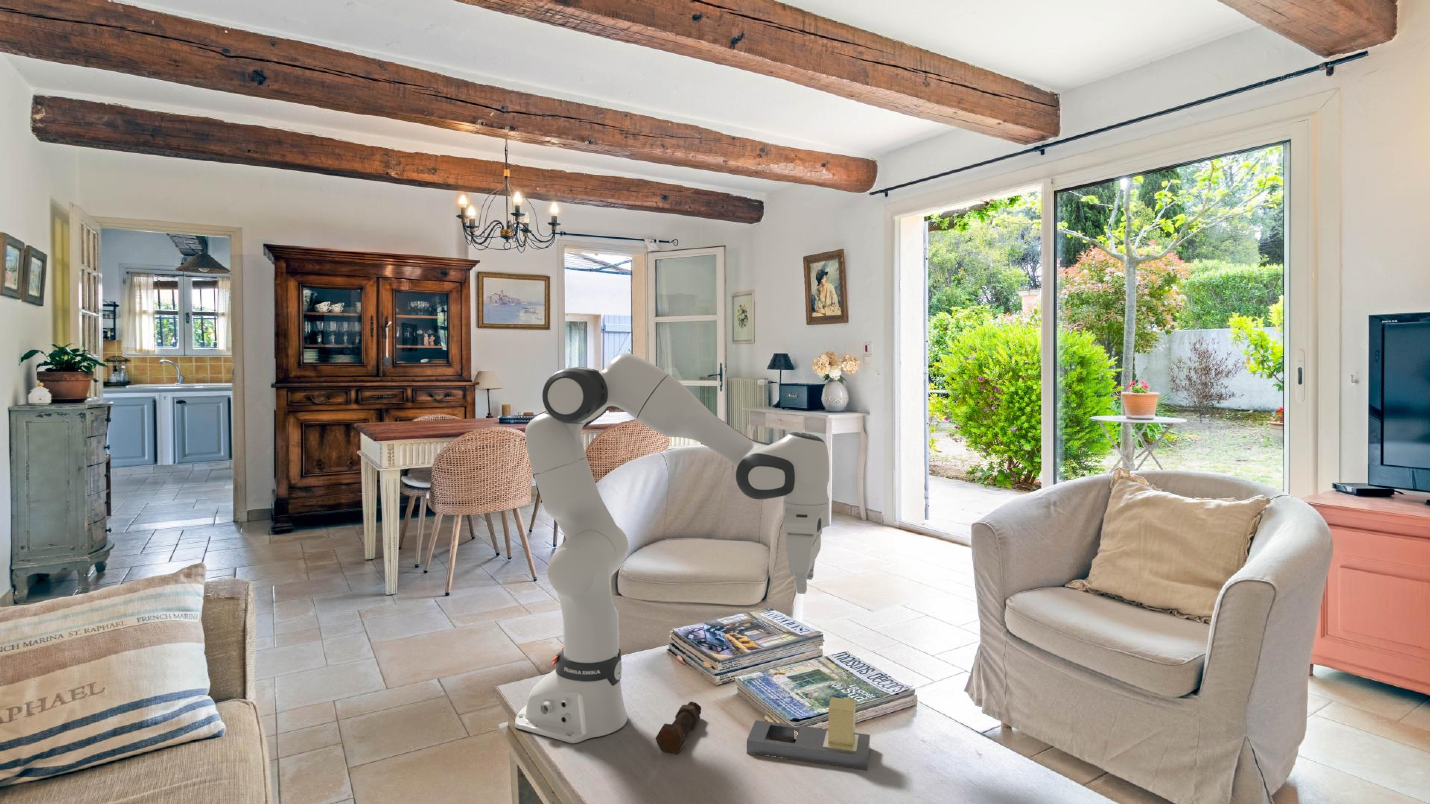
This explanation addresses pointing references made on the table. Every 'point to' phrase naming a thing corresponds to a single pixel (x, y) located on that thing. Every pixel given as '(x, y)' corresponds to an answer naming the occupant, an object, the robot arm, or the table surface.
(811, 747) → the plate
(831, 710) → the tan block
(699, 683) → the table surface
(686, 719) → the bolt
